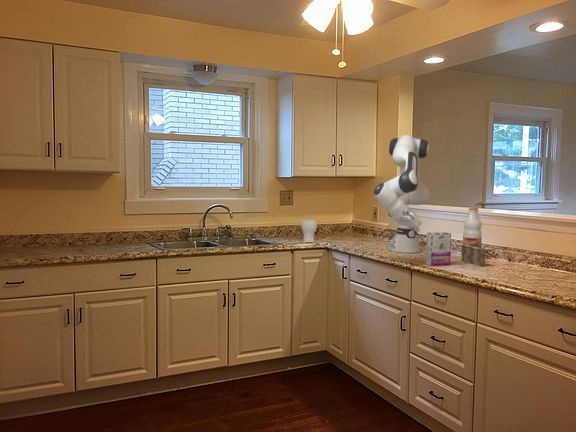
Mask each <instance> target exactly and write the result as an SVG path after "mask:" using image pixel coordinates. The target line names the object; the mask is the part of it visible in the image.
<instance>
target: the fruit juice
mask: <svg viewBox="0 0 576 432" xmlns="http://www.w3.org/2000/svg"><path fill="white" fill-rule="evenodd" d="M478 212H479V208H478V207H468V215H467V217H466V219H465V220H464V223H463V227H464V230H463V232H462V233H463V235H462V244H467V245H471V246H476V247H480V248H482V238H483V235H482V230H481V229H482V227H483V223H482V221H481V219H480V217H479V213H478Z"/></svg>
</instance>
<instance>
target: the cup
mask: <svg viewBox="0 0 576 432" xmlns="http://www.w3.org/2000/svg"><path fill="white" fill-rule="evenodd" d="M300 225H301V226H300V227H301V231H302V233H303V240H302V243H306V242H313V243H315V232H316V231H317V227H318V223H317V220H316V219H302V220H301V224H300Z"/></svg>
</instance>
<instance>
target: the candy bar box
mask: <svg viewBox="0 0 576 432" xmlns="http://www.w3.org/2000/svg"><path fill="white" fill-rule="evenodd" d="M451 243H452V233H451V232H447V231H445V232H444V231H441V232H440V231H439V232H427V233H426V265H427V266H431V267H436V266H437V267H438V266H439V267H440V266H450V265H451V254H452V253H451V248H452V244H451Z"/></svg>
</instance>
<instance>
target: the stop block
mask: <svg viewBox="0 0 576 432" xmlns="http://www.w3.org/2000/svg"><path fill="white" fill-rule="evenodd" d="M460 246H461V257H460V258H461V262H464V263H468V264H470V265H471V264H472V265H474V266H478V267H481V268H483V267H484V268H485V267H486V248H485V247H484V248H483V247H481V248H480V247H476V246H471V245H467V244H463V243H461V244H460Z"/></svg>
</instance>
